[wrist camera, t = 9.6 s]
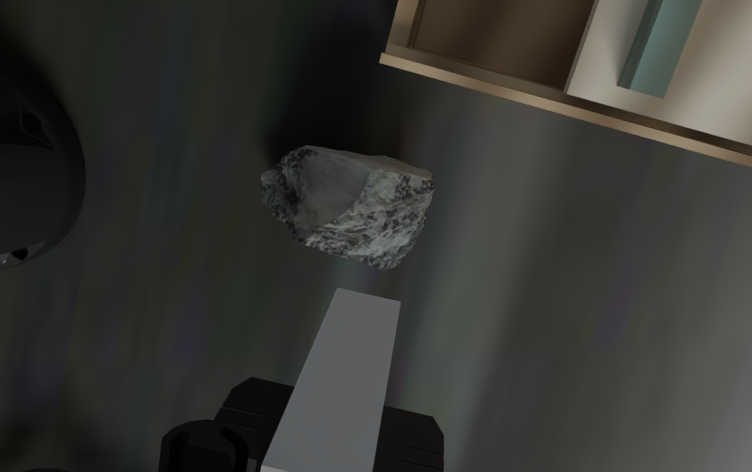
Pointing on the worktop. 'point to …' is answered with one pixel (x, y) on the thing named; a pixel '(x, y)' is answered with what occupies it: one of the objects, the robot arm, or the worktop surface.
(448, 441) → the worktop surface
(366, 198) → the stone
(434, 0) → the box
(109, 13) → the worktop surface
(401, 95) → the worktop surface
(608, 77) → the cover plate
